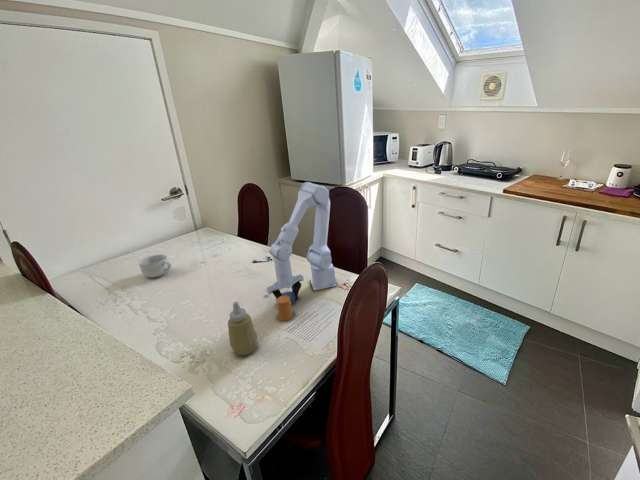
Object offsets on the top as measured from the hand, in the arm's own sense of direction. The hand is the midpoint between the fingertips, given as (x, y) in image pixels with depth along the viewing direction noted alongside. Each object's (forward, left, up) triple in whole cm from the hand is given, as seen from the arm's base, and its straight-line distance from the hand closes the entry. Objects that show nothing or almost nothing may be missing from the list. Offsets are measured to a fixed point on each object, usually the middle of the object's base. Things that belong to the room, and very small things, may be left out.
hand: (288, 301), depth 123 cm
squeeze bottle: (+16, +21, 0) cm, 26 cm away
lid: (0, 0, +2) cm, 2 cm away
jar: (+2, +9, 0) cm, 9 cm away
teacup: (+52, -44, 0) cm, 68 cm away
